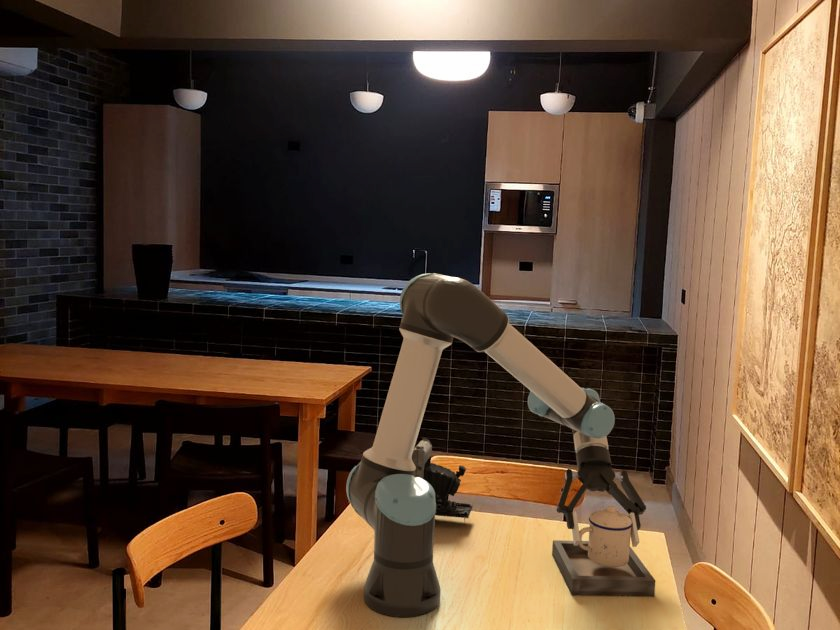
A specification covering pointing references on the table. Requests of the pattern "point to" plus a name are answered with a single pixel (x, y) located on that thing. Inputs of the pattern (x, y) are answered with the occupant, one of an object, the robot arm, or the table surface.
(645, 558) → the table surface
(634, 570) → the tray
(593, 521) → the teacup with lid
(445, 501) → the vintage camera
